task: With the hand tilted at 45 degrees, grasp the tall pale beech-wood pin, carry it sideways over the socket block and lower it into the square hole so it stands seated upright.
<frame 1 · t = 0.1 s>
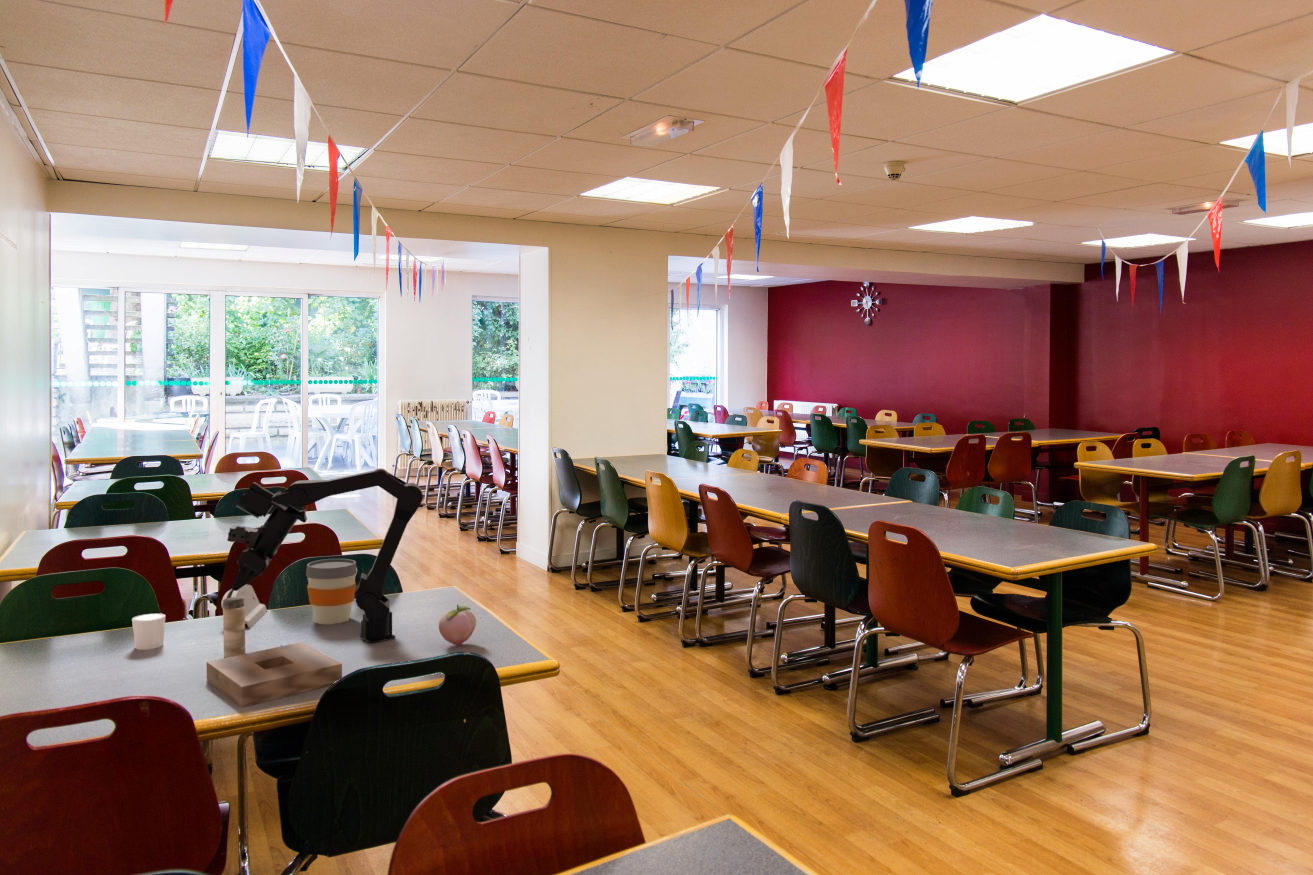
hand: (237, 585, 200), 15 cm above the table, tool tilted 35°, fingers open, 9 cm apart
beech pin: (234, 655, 195), on the table
socket block: (274, 681, 179), on the table
reusable coffee cup: (332, 620, 225), on the table
decorative fruit: (456, 646, 205), on the table
hinge: (243, 621, 224), on the table
white short cylinder: (149, 646, 201), on the table
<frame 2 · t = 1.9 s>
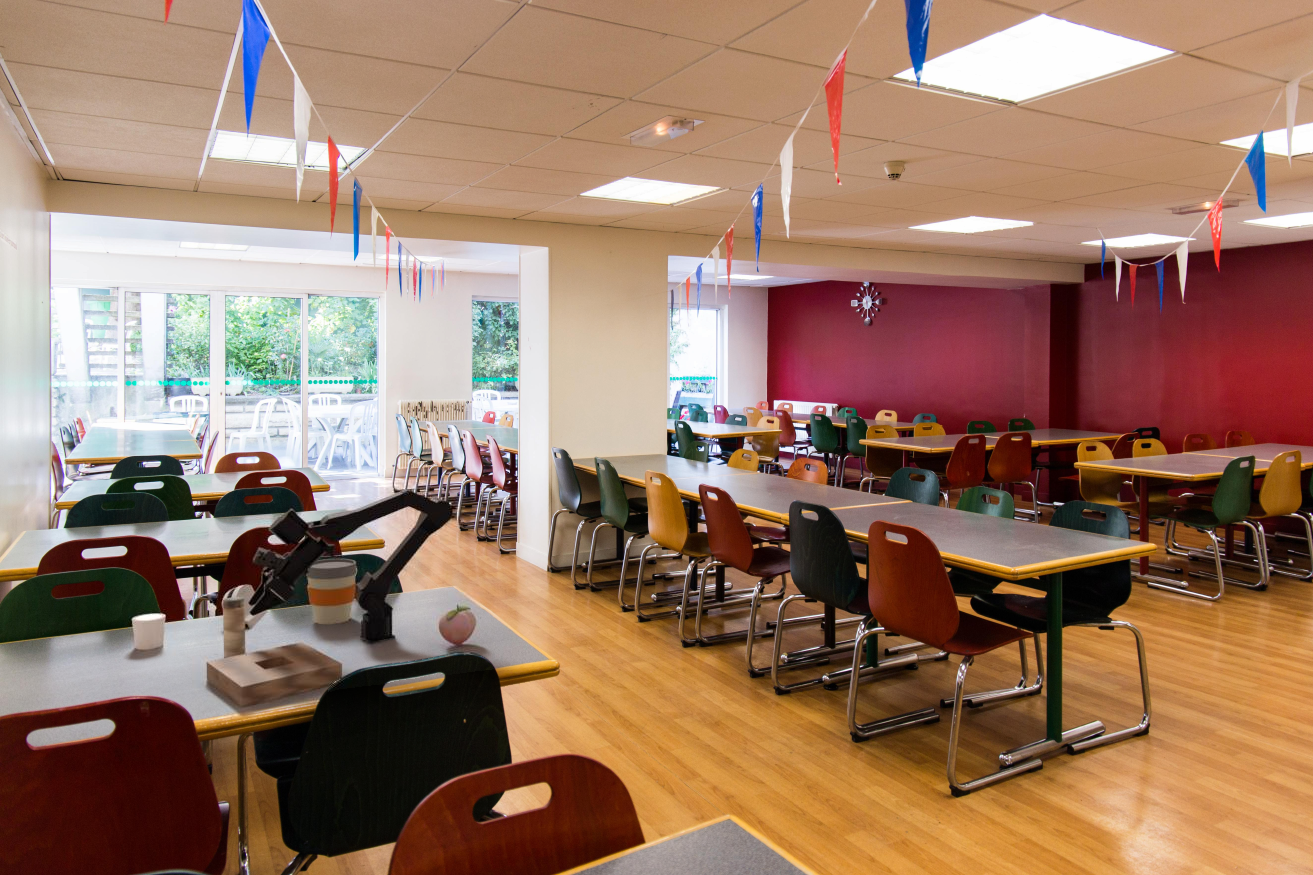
hand: (250, 609, 196), 10 cm above the table, tool tilted 45°, fingers open, 9 cm apart
nothing on the table moved.
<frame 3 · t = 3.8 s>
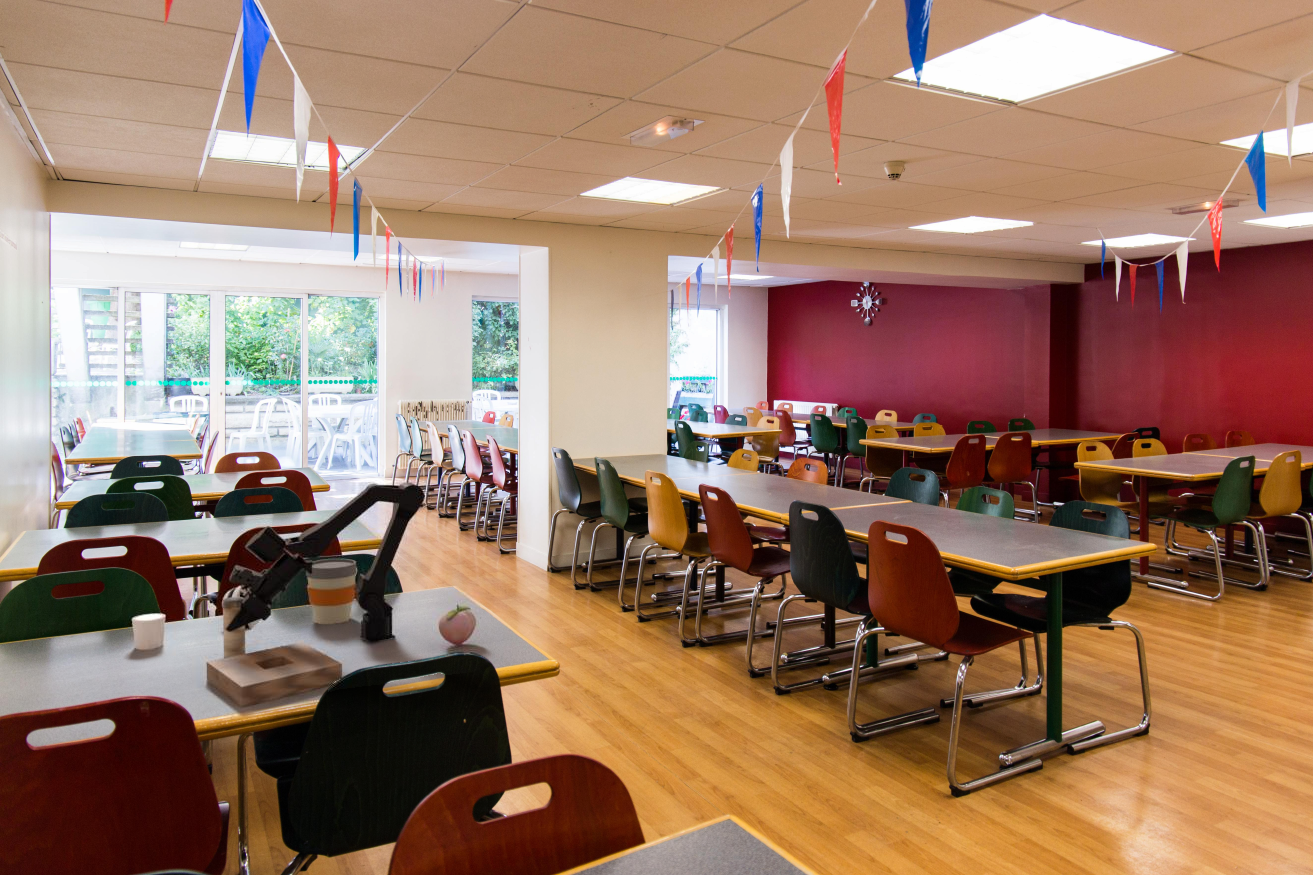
hand: (227, 627, 194), 7 cm above the table, tool tilted 45°, fingers closed on beech pin, 4 cm apart
beech pin: (234, 655, 195), on the table, touching gripper
everything else where it was.
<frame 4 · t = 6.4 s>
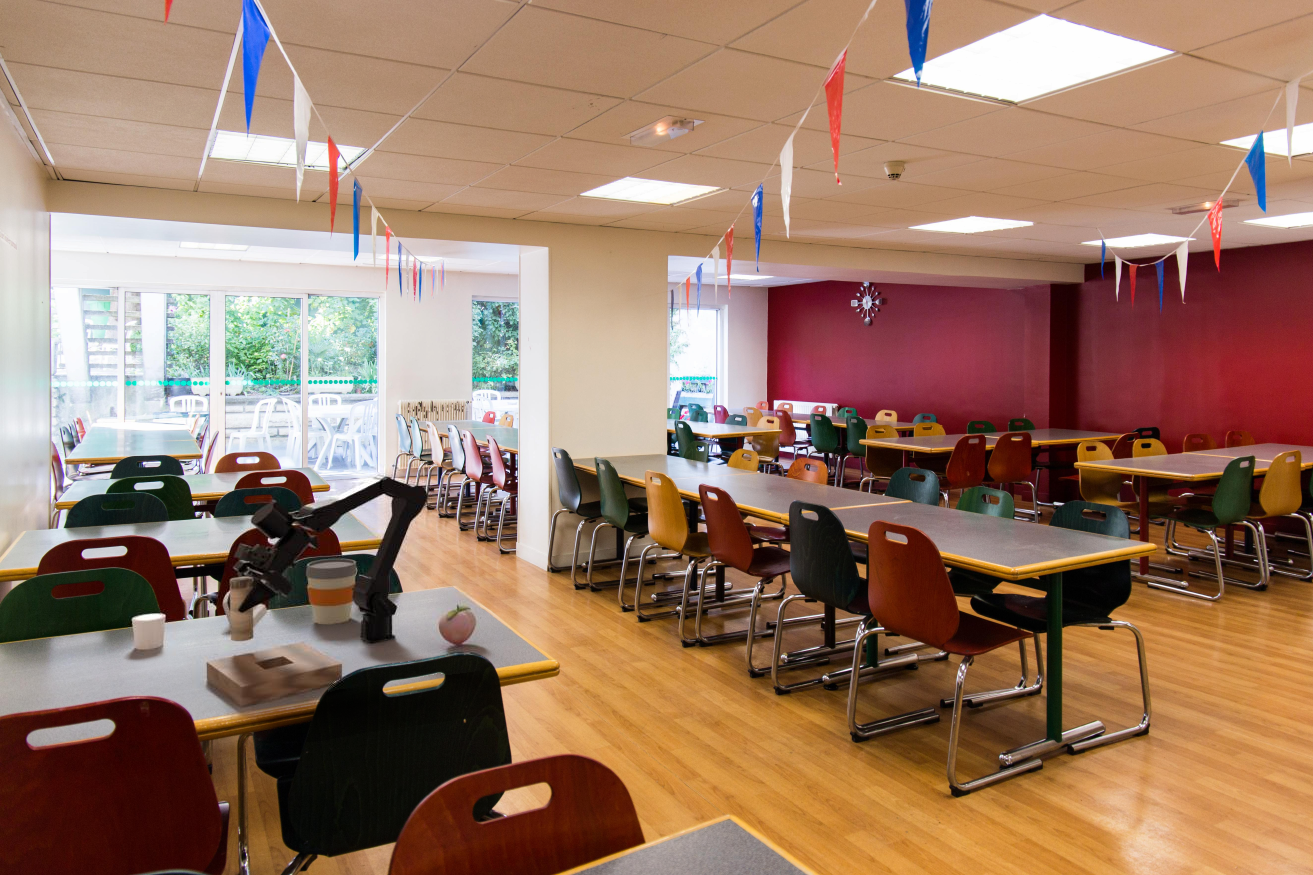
hand: (235, 609, 184), 14 cm above the table, tool tilted 45°, fingers closed on beech pin, 4 cm apart
beech pin: (242, 638, 185), point 7 cm above the table, touching gripper
everything else where it was.
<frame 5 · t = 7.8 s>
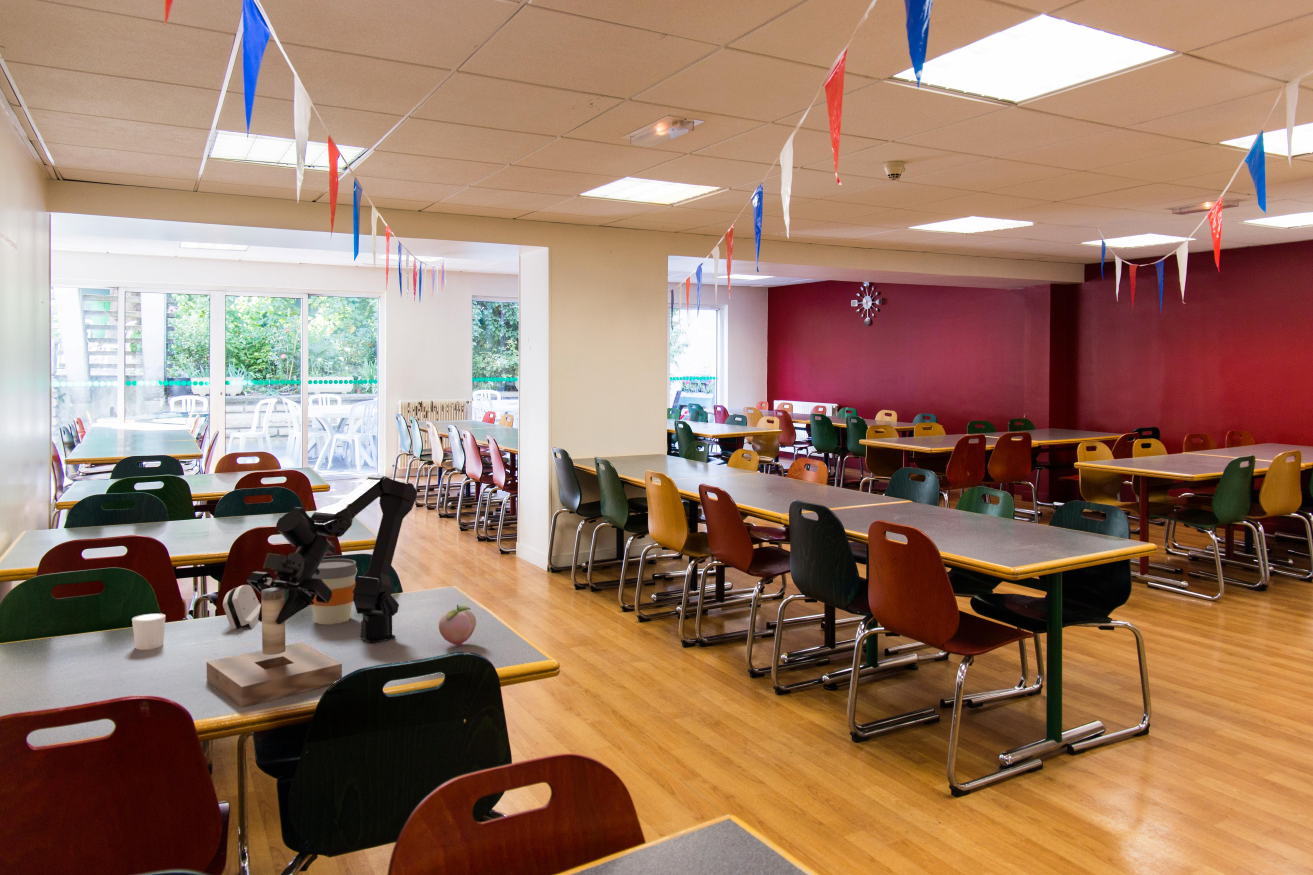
hand: (268, 622, 177), 13 cm above the table, tool tilted 45°, fingers closed on beech pin, 4 cm apart
beech pin: (274, 651, 179), point 6 cm above the table, touching gripper
everything else where it was.
when the fingers open (8 cm above the table, at t = 9.2 s): beech pin stays where it is, resting on socket block.
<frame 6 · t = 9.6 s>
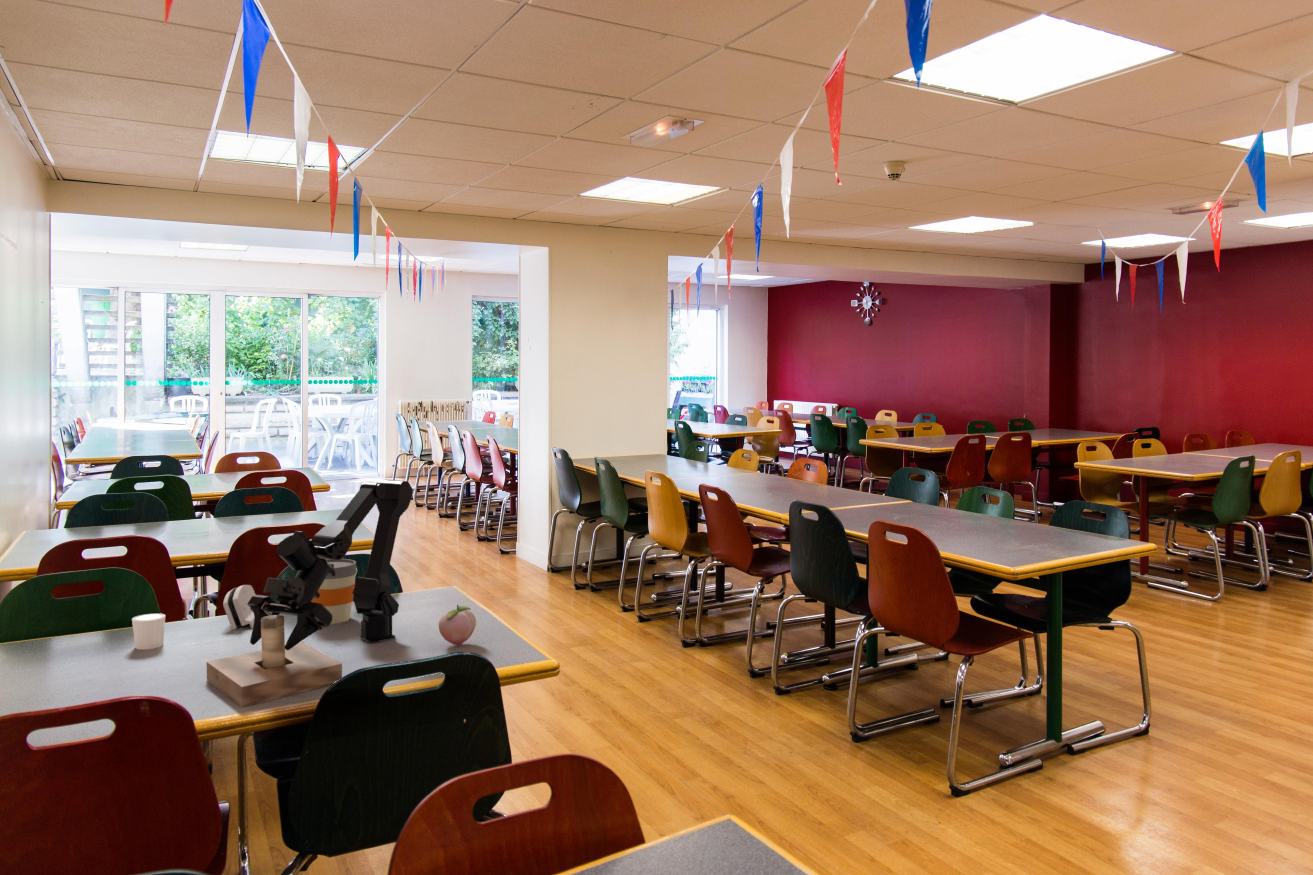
hand: (268, 646, 177), 8 cm above the table, tool tilted 45°, fingers open, 9 cm apart
beech pin: (274, 678, 179), point 1 cm above the table, touching socket block
everything else where it was.
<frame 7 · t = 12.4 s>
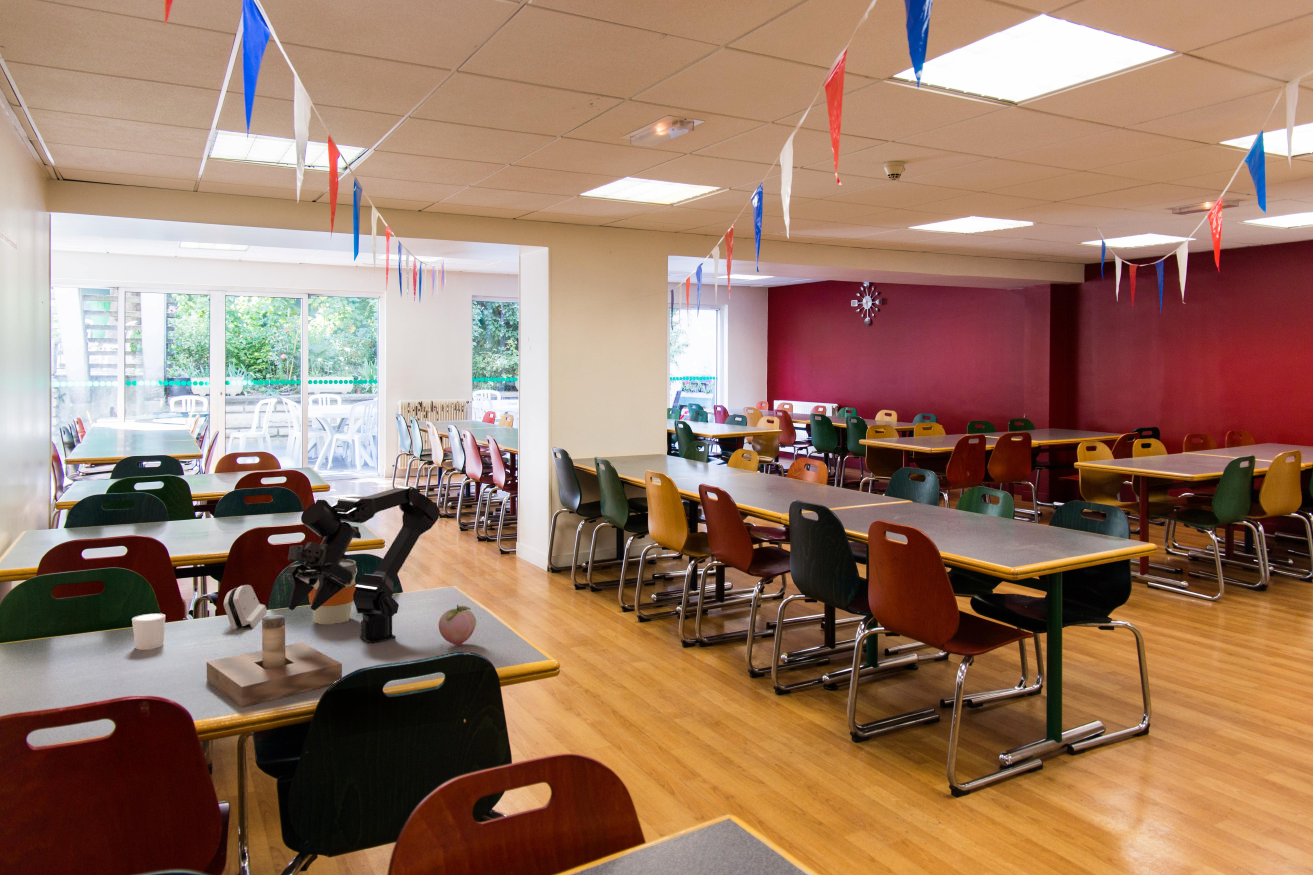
hand: (301, 609, 188), 13 cm above the table, tool tilted 40°, fingers open, 9 cm apart
nothing on the table moved.
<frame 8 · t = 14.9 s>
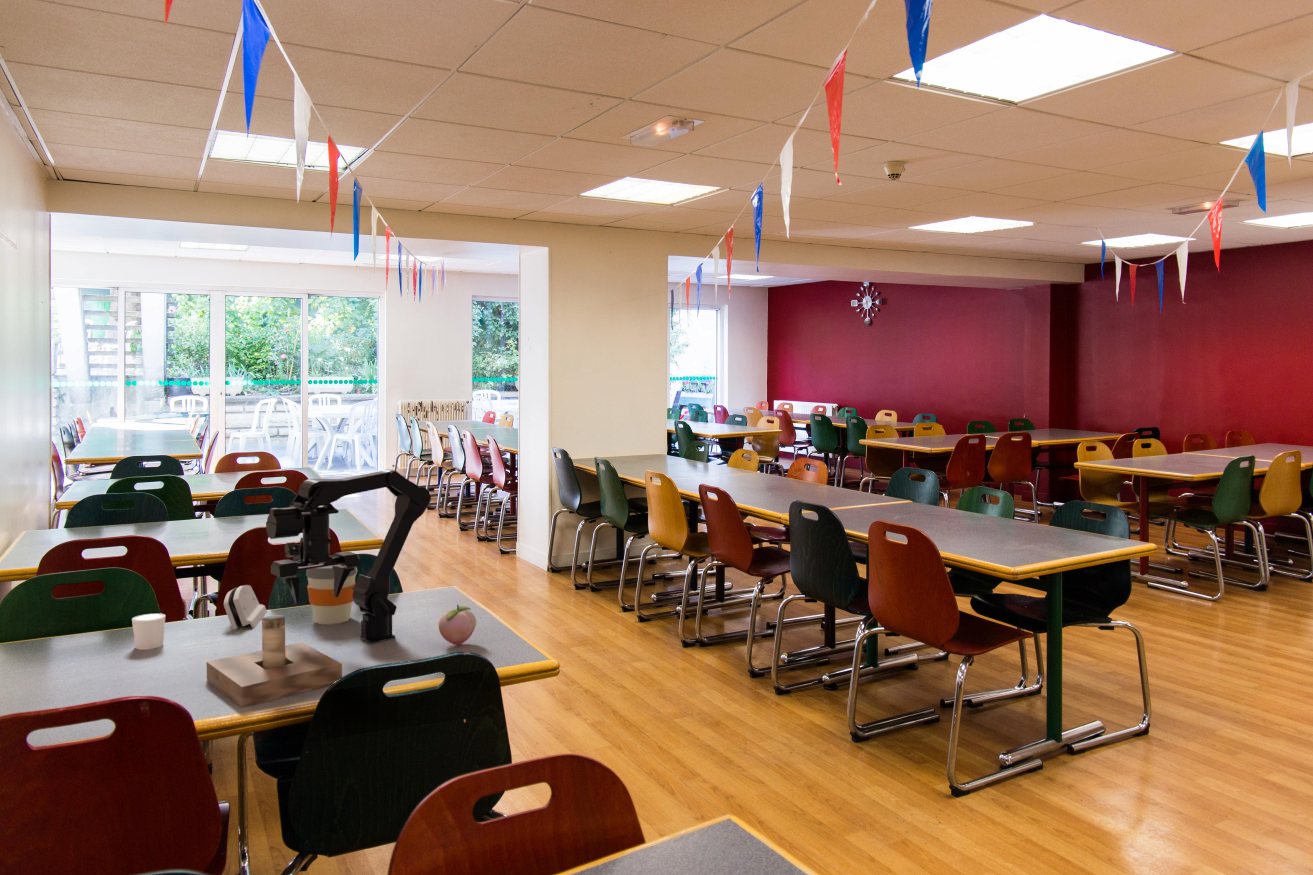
hand: (316, 600, 198), 12 cm above the table, tool pointing down, fingers open, 9 cm apart
nothing on the table moved.
at the end: beech pin 0.0 cm off-centre on the socket block, point 0.5 cm above the socket block's base; beech pin tilted 0°; the gripper is holding nothing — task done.
